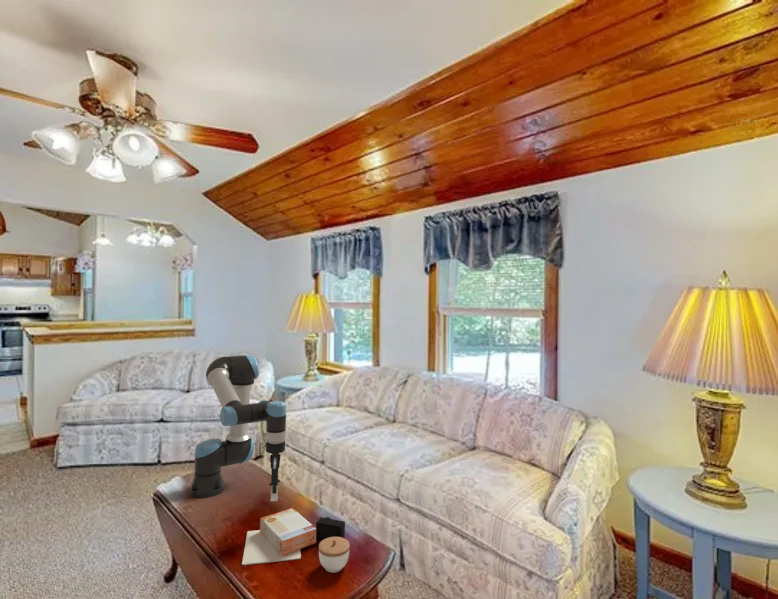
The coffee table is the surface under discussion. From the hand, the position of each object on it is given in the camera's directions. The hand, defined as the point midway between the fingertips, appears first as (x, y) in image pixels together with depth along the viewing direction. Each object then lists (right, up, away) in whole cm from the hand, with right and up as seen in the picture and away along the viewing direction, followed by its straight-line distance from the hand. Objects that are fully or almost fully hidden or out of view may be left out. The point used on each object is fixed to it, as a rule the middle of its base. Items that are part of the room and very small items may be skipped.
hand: (274, 500), depth 172 cm
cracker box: (0, -9, +3) cm, 9 cm away
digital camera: (+23, -13, -5) cm, 27 cm away
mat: (+2, -12, -10) cm, 16 cm away
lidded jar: (+27, -13, -23) cm, 37 cm away
